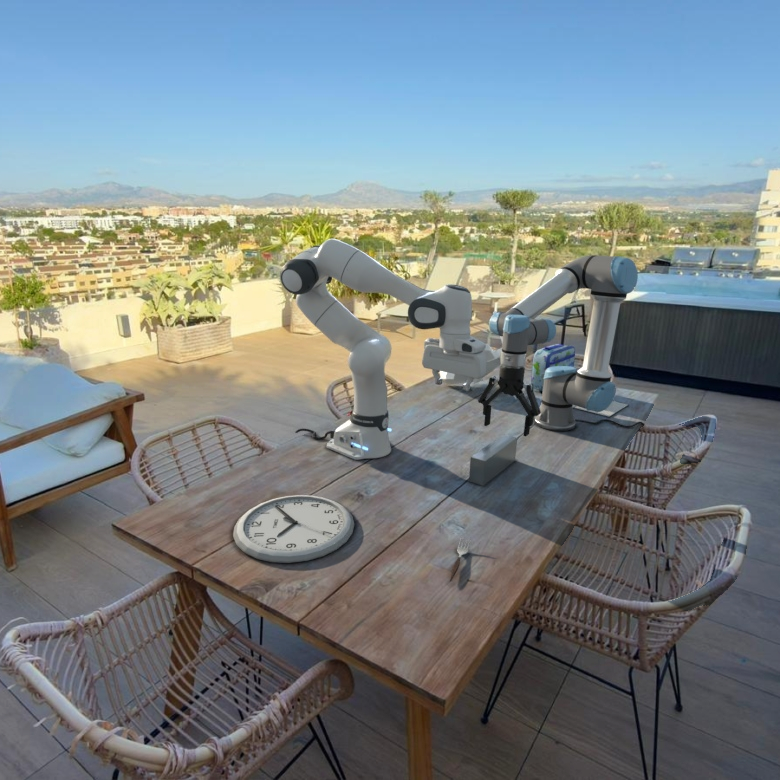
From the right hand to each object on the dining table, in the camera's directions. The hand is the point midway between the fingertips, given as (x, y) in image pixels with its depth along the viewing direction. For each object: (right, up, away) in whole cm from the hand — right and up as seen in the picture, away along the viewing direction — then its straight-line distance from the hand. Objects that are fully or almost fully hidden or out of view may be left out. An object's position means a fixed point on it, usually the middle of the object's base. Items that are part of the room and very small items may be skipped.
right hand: (506, 429), depth 168 cm
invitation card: (+54, +5, +59) cm, 80 cm away
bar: (-5, -13, -3) cm, 14 cm away
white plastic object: (+4, +12, +75) cm, 76 cm away
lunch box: (+40, +13, +83) cm, 93 cm away
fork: (-22, -27, -48) cm, 59 cm away
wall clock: (-61, -22, -35) cm, 74 cm away
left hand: (-19, +14, -11) cm, 26 cm away
